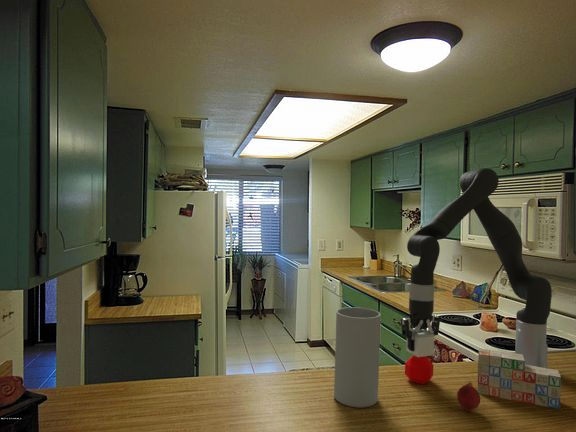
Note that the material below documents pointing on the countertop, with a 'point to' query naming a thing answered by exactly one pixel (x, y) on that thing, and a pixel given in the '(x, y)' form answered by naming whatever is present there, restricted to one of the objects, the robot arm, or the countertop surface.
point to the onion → (468, 397)
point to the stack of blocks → (517, 379)
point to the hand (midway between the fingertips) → (419, 349)
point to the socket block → (422, 344)
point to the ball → (419, 369)
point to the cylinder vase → (357, 356)
